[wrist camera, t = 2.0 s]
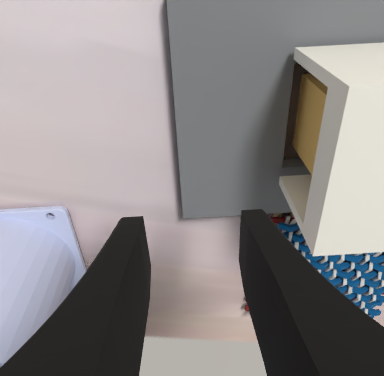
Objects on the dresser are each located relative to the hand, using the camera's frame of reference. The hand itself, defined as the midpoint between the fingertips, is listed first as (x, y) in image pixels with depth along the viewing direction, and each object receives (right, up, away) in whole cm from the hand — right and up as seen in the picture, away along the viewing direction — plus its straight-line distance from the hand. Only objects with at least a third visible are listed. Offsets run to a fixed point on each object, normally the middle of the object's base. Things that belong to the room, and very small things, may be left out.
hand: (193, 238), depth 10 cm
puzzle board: (+8, +6, +8) cm, 13 cm away
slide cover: (+8, +5, +7) cm, 11 cm away
